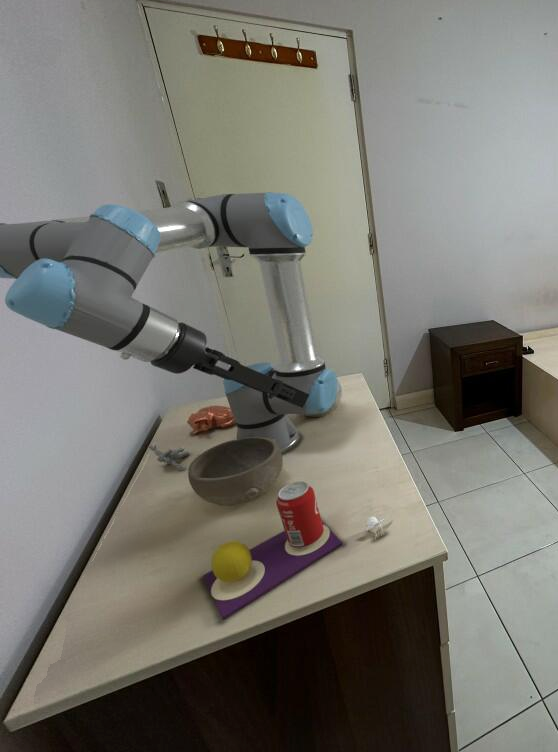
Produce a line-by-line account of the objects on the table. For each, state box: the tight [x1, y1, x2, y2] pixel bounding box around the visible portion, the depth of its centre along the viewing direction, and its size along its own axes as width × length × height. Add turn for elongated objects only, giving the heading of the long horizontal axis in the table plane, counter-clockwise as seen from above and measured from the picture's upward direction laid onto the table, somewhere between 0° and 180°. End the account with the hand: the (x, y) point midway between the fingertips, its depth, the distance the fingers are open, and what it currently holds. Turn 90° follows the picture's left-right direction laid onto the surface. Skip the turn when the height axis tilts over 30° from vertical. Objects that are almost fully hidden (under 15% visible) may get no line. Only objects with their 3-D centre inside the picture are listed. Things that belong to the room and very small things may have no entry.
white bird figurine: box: [353, 515, 391, 540], centre depth 79 cm, size 8×5×5 cm, turn 132°
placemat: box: [202, 521, 343, 621], centre depth 74 cm, size 12×20×1 cm, turn 139°
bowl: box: [187, 437, 284, 507], centre depth 91 cm, size 17×18×10 cm
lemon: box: [211, 540, 252, 582], centre depth 68 cm, size 6×6×8 cm
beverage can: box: [275, 480, 324, 549], centre depth 76 cm, size 6×6×12 cm
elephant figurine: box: [148, 444, 191, 471], centre depth 103 cm, size 10×6×9 cm
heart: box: [186, 405, 236, 436], centre depth 120 cm, size 6×12×15 cm
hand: (284, 393), depth 77 cm, fingers open, 13 cm apart
